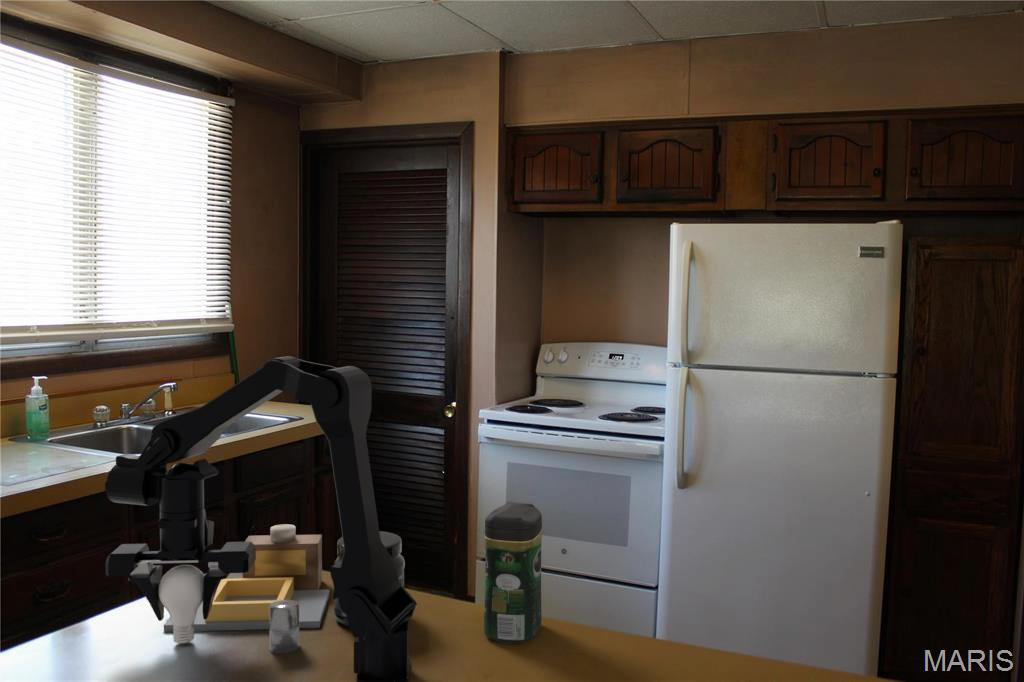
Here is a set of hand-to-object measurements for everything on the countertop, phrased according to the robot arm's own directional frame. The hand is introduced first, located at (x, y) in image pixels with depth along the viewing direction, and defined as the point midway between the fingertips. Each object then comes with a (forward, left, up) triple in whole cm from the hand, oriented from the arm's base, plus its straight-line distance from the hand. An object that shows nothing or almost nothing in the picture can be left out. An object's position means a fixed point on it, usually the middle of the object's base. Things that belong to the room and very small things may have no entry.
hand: (183, 618), depth 119 cm
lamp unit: (-10, -22, -4) cm, 24 cm away
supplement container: (-25, -8, -4) cm, 27 cm away
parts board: (-7, -11, -4) cm, 14 cm away
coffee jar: (-46, -1, -4) cm, 46 cm away
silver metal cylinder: (-14, +2, -4) cm, 15 cm away
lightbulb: (0, 0, -4) cm, 4 cm away
